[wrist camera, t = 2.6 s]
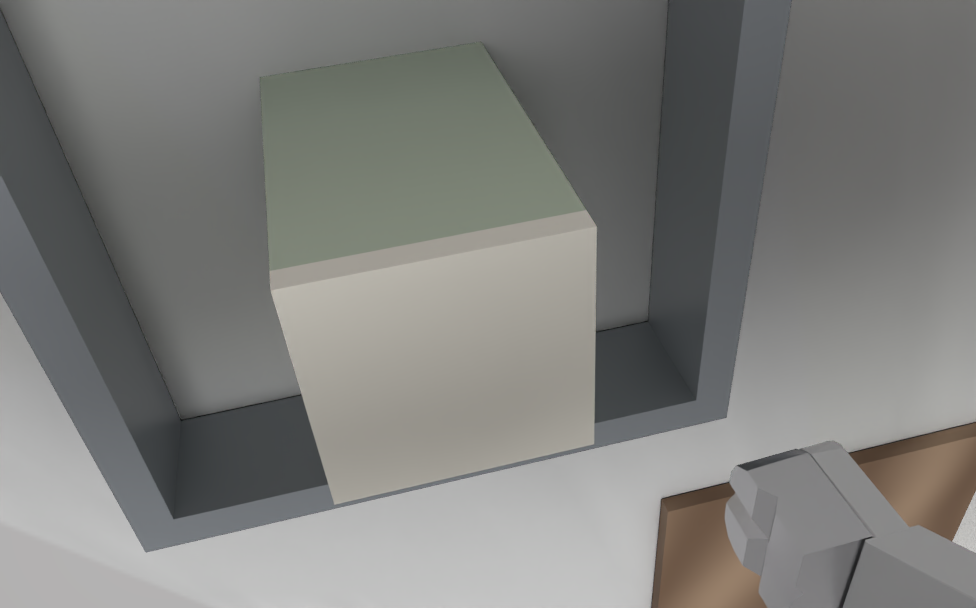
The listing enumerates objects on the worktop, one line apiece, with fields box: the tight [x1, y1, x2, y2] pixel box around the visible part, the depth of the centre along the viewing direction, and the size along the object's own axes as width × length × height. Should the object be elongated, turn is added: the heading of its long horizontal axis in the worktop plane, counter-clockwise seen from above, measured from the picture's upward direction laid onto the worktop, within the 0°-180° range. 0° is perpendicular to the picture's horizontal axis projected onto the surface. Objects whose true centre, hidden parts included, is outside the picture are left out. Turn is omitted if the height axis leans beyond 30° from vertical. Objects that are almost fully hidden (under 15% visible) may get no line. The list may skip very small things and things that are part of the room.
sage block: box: [260, 42, 597, 505], centre depth 17 cm, size 5×5×8 cm
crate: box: [0, 0, 792, 552], centre depth 19 cm, size 16×16×4 cm
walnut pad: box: [651, 423, 976, 608], centre depth 36 cm, size 14×14×1 cm
